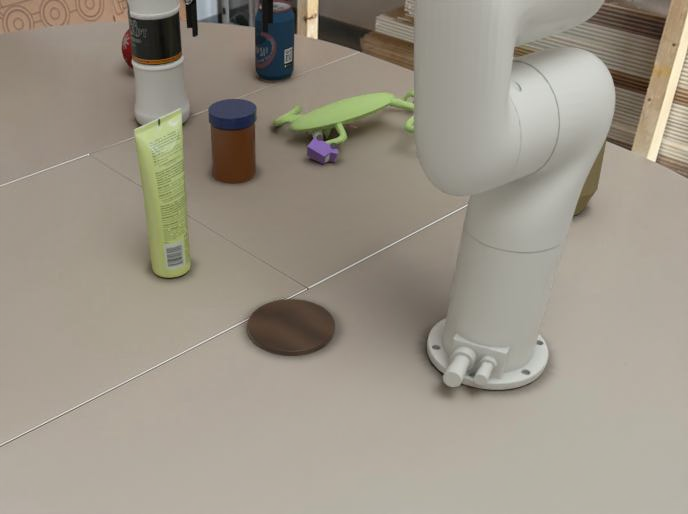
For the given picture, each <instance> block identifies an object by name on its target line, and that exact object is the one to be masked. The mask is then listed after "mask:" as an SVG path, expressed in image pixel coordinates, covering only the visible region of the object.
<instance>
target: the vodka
mask: <svg viewBox="0 0 688 514" xmlns="http://www.w3.org/2000/svg"><path fill="white" fill-rule="evenodd" d="M125 2H126V10H127V20H128V29H129V30H130V39H131V48H132V57H133V59H132V65H133V69H132V70H133V75H134V94H135V96H134V97H135V98H134V101H135V102H134V107H133V108H134V109H133V110H134V118H135V119H136V122H137V124H139V125H140V126H143V125H145V124H148V123H150V122H152V121H154V120H156V119H159V118H161V117H163V116H165V115H167V114H169V113H171V112H173V111H175V110H177V109H179V108H181V113H182V125H183V124H184V123H186V122H187V121H188V120H189V118H190V115H191V106H190V105H191V104H190V102H189V98H188V93H187V88H186V82H185V81H186V80H185V73H184V61H185V57H184V55H183V47H182V45H183V44H182V33H181V18H180V17H181V16H180V10H181V3H180V0H125Z"/></svg>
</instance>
